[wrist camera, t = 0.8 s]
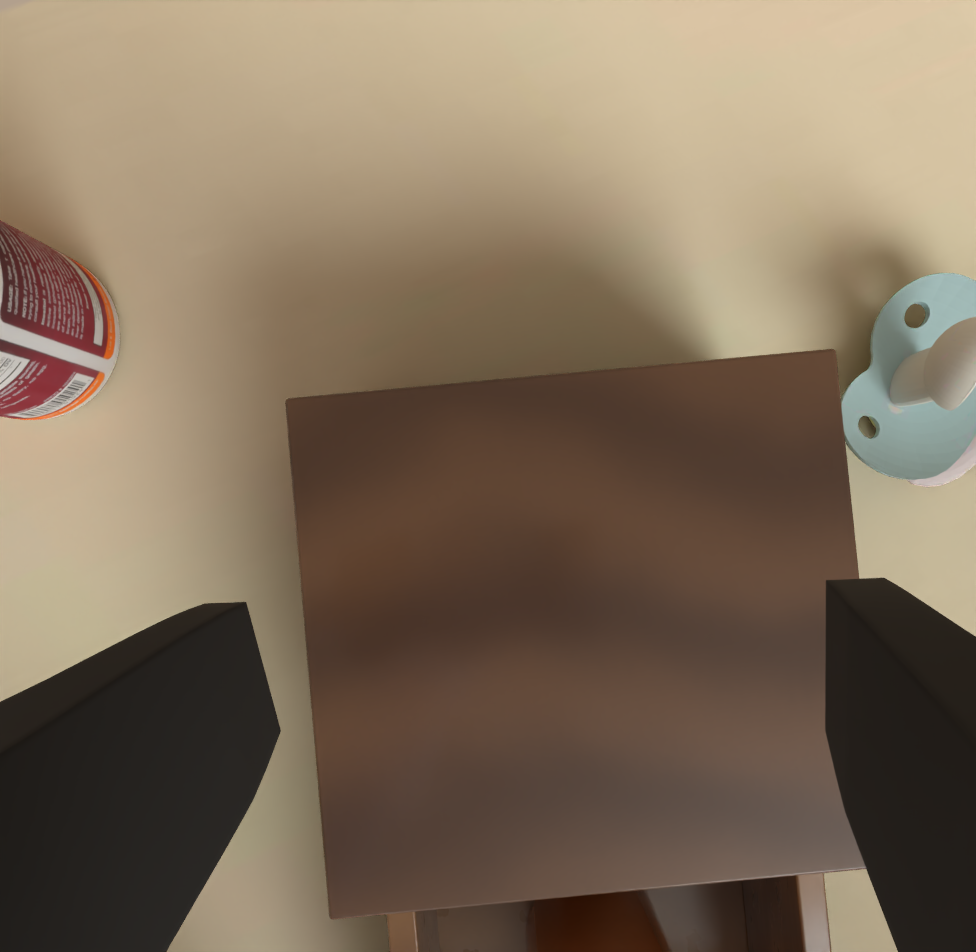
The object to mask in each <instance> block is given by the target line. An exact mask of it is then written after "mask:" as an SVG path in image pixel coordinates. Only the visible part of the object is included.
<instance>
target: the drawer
mask: <svg viewBox="0 0 976 952" xmlns="http://www.w3.org/2000/svg"><path fill="white" fill-rule="evenodd" d="M643 891H644V892H645V893H646V894H647V896H648V897H649V898H650V900H651V902H652V903H653V905H654V907H655V910H656V912H657V914H658V917H659V919H660V921H661V924H662V926H663V929H664V931H665V934H666V936H667V938H668V941H669V943H670V946H671V948H672V950H673V952H831V942H830V932H829V923H828V913H827V903H826V893H825V883H824V873H816V874H806V875H795V876H785V877H774V878H764V879H753V880H743V881H732V882H722V883H711V884H701V885H690V886H680V887H669V888H659V889H648V890H643ZM535 901H536V900H532V901H522V902H511V903H501V904H490V905H480V906H469V907H459V908H448V909H438V910H427V911H417V912H406V913H396V914H387V926H388V937H389V948H390V952H526V943H525V932H526V924H527V920H528V916H529V913H530V911H531V908H532V906H533V904H534V902H535Z"/></svg>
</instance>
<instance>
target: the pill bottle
mask: <svg viewBox="0 0 976 952" xmlns="http://www.w3.org/2000/svg"><path fill="white" fill-rule="evenodd" d="M119 347H120V325H119V319H118V315H117V311H116V308H115V305H114V303H113V301H112V299H111V297H110V295H109V293H108V292H107V290H106V289H105V287H104V286H103V285H102V283H101V282H100V281H99V280H98V279H97V278H96V277H95V276H94V275H93V274H92V273H91V272H90V271H89V270H87V269H86V268H85V267H83V266H82V265H80V264H79V263H77V262H76V261H74V260H73V259H71V258H69V257H67V256H65V255H64V254H62V253H60V252H58V251H56V250H54V249H52V248H51V247H49V246H47V245H45V244H43V243H41V242H39V241H38V240H36V239H34V238H32V237H30V236H28V235H27V234H25V233H23V232H21V231H19V230H17V229H16V228H14V227H12V226H10V225H8V224H7V223H5V222H3V221H1V220H0V416H1V417H7V418H13V419H22V420H42V419H49V418H55V417H58V416H62V415H65V414H68V413H70V412H72V411H74V410H76V409H78V408H80V407H81V406H83V405H84V404H86V403H87V402H89V401H90V400H91V399H92V398H94V397H95V396H96V395H97V394H98V393H99V391H100V390H101V389H102V388H103V386H104V385H105V384H106V382H107V380H108V379H109V377H110V375H111V373H112V371H113V369H114V367H115V364H116V361H117V358H118V354H119Z"/></svg>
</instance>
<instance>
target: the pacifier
mask: <svg viewBox="0 0 976 952" xmlns="http://www.w3.org/2000/svg"><path fill="white" fill-rule="evenodd" d="M912 304H919V305H921V306H922V307H923V308H924V310H925V314H926V315H925V319H924V321H923V323H922V324H921V325H920V326H919V327H918V328H910V327H909V326H907V325H906V323H905V320H904V316H905V312H906V310H907V309H908V308H909V306H911V305H912ZM870 352H871V362H870V365H869V367H868V369H867V370H866V371H865V372H863V373H862V374H860V375H859V376H858V377H857V378H856V379H854V381H853V382H852V383H851V384H850V385H849V386H848V387H847V389H846V391H845V392H844V394H843V396H842V398H841V407H842V417H843V427H844V436H845V442H846V444H847V445H848V447H849V448H850V449H851V451H852V452H853V453H854V454H855V455H856V456H857V457H858V458H859V459H860V460H861V461H862V462H864V463H865V464H866V465H867V466H869V467H871V468H872V469H874V470H876V471H877V472H879V473H882V474H884V475H887V476H889V477H894V478H898V479H906V480H907V481H909V482H910V483H911V484H915V485H919V486H924V487H933V486H940V485H945V484H947V483H949V482H951V481H953V480H955V479H957V478H959V477H961V476H962V475H963V474H965V473H966V472H967V471H968V470H969V469H971V468H972V467H973V466H974V465H976V281H975V280H972V279H970V278H968V277H966V276H963V275H959V274H954V273H938V274H932V275H927V276H925V277H922V278H919V279H917V280H914V281H913V282H911V283H909V284H908V285H906V286H905V287H903V288H902V289H900V290H899V291H898V292H897V293H896V294H894V295H893V296H892V297H891V298H890V299H889V300H888V301H887V303H886V304H885V305H884V306H883V307H882V309H881V311H880V313H879V315H878V317H877V318H876V320H875V323H874V326H873V330H872V333H871V342H870ZM862 416H867V417H869V419H870V421H871V423H872V424H873V426H874V427H875V428H876V433H875V435H874V437H873V438H871V439H870V438H867V437H865V436H864V435H863V434H862V433H861V431H860V430H859V426H858V422H859V419H860V418H861V417H862Z"/></svg>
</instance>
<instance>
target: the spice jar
mask: <svg viewBox="0 0 976 952" xmlns="http://www.w3.org/2000/svg"><path fill="white" fill-rule="evenodd" d="M525 943H526V952H673V950H672V948H671V946H670V943H669V941H668V938H667V936H666V934H665V931H664V929H663V926H662V924H661V921H660V919H659V917H658V914H657V912H656V910H655V907H654V905H653V903H652V902H651V900H650V898H649V897H648V896H647V894H646V893H645V892H644V891H643V890H638V891H627V892H617V893H606V894H596V895H585V896H574V897H564V898H553V899H543V900H536V901H535V902H534V904H533V906H532V908H531V911H530V913H529V916H528V920H527V924H526V932H525Z"/></svg>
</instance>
